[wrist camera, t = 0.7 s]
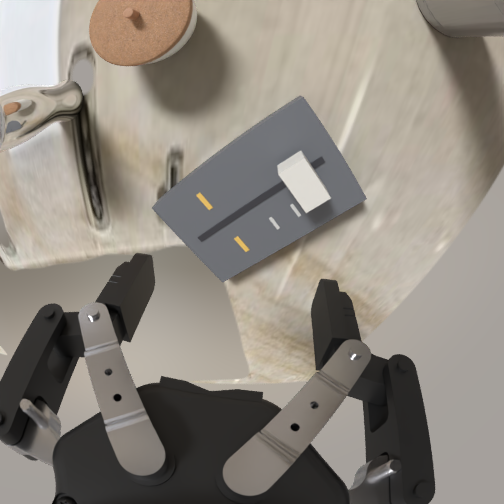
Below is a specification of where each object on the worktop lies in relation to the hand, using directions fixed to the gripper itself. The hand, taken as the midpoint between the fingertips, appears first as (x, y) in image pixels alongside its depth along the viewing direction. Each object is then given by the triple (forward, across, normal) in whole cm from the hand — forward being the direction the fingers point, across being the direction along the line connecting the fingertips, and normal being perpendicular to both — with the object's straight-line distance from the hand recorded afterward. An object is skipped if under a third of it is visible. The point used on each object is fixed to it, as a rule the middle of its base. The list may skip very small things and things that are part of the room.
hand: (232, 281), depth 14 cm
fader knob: (+21, -5, +1) cm, 21 cm away
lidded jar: (+24, +13, -15) cm, 31 cm away
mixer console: (+24, 0, +5) cm, 24 cm away
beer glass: (+24, +27, -6) cm, 36 cm away
